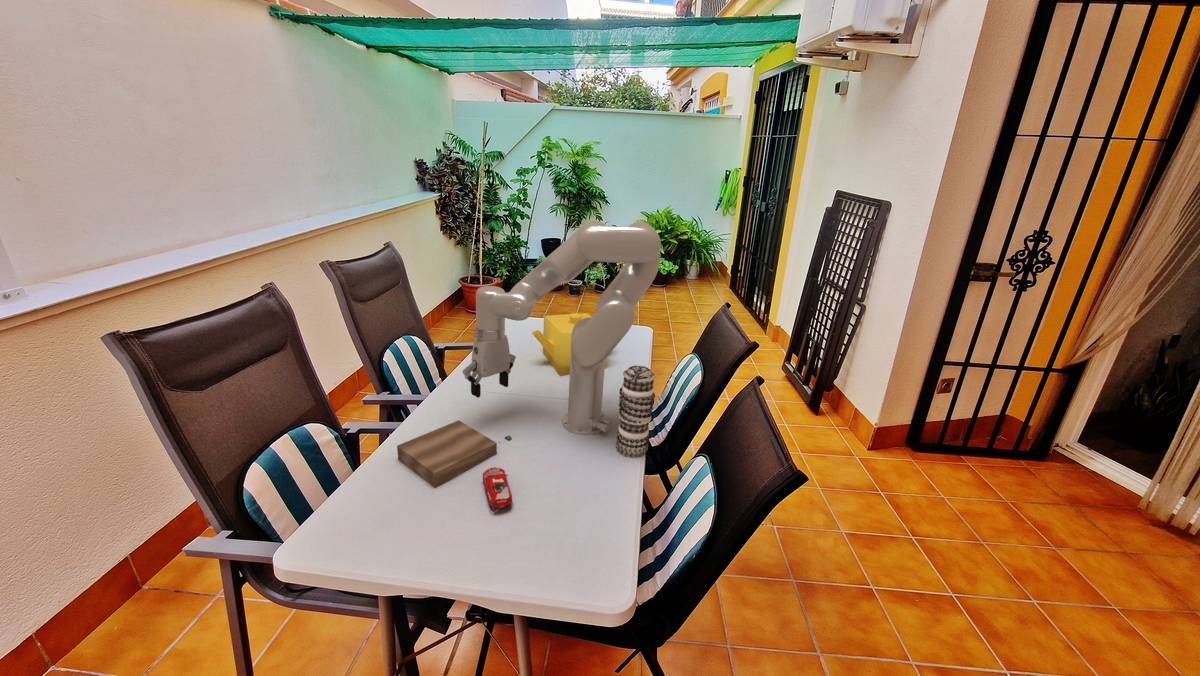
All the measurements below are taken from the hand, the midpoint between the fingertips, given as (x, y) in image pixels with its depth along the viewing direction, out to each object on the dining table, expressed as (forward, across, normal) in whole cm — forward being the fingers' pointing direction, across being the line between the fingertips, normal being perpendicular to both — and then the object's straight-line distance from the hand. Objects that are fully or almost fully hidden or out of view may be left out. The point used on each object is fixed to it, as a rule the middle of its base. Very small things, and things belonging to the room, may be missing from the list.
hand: (490, 390), depth 137 cm
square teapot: (+11, +46, +10) cm, 48 cm away
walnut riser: (+11, -18, -6) cm, 22 cm away
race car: (+13, -17, -22) cm, 31 cm away
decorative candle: (+10, +16, -38) cm, 43 cm away
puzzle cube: (+12, -3, -11) cm, 16 cm away
